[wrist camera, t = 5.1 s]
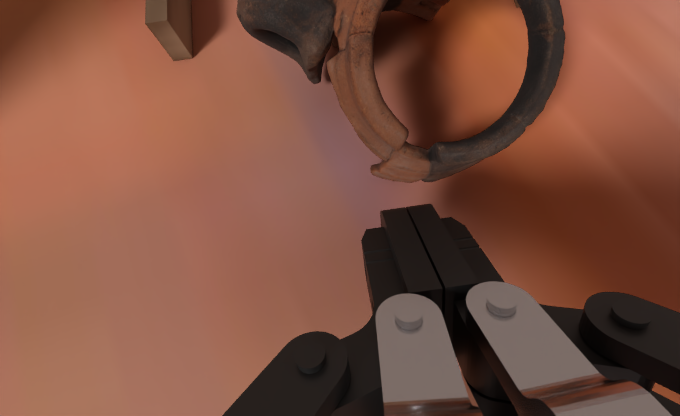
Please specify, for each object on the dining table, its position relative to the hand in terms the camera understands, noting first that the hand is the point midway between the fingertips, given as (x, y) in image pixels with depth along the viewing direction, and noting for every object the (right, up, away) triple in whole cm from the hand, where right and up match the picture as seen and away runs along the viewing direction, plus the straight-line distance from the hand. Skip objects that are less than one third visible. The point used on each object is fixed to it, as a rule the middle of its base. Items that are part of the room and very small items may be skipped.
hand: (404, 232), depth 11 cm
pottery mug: (0, +6, +7) cm, 9 cm away
